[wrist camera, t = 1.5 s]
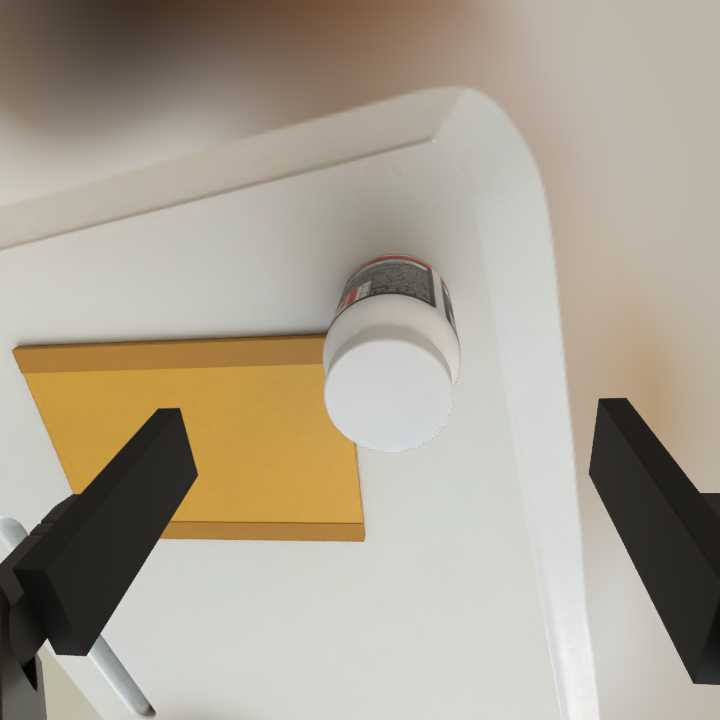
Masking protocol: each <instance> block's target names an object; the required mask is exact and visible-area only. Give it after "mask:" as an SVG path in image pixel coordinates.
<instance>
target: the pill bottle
mask: <svg viewBox="0 0 720 720" xmlns="http://www.w3.org/2000/svg"><path fill="white" fill-rule="evenodd" d="M460 361H461V353H460V345H459V340H458V335H457V330H456V325H455V320H454V315H453V310H452V305H451V300H450V295H449V292H448V289H447V287H446V285H445V283H444V281H443V280H442V278H441V277H440V275H439V274H438V273H437V272H436V271H435V270H434V269H433V268H432V267H431V266H429V265H428V264H426V263H425V262H423V261H421V260H419V259H417V258H414V257H411V256H406V255H385V256H381V257H378V258H375V259H373V260H371V261H369V262H367V263H366V264H364V265H363V266H361V267H360V268H359V269H358V270H357V271H356V272H355V273H354V274H353V276H352V277H351V278H350V280H349V281H348V283H347V285H346V287H345V289H344V292H343V295H342V297H341V300H340V302H339V305H338V307H337V310H336V313H335V315H334V318H333V320H332V323H331V326H330V328H329V331H328V333H327V336H326V339H325V343H324V348H323V367H324V372H325V376H326V380H325V384H324V402H325V407H326V410H327V412H328V415H329V417H330V419H331V420H332V422H333V423H334V425H335V426H336V428H337V429H338V430H339V431H340V432H341V433H342V434H343V435H344V436H345V437H347V438H348V439H350V440H351V441H353V442H355V443H356V444H358V445H360V446H363V447H365V448H368V449H372V450H376V451H381V452H399V451H406V450H410V449H413V448H416V447H418V446H420V445H422V444H424V443H426V442H428V441H429V440H430V439H432V438H433V437H434V436H436V435H437V434H438V433H439V431H440V430H441V429H442V428H443V427H444V425H445V423H446V422H447V420H448V418H449V415H450V413H451V409H452V405H453V388H454V386H455V384H456V382H457V379H458V375H459V371H460Z"/></svg>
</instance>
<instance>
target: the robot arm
mask: <svg viewBox="0 0 720 720" xmlns="http://www.w3.org/2000/svg"><path fill="white" fill-rule="evenodd" d="M589 475H590V477H591V479H592V481H593V483H594V485H595V487H596V489H597V491H598V493H599V495H600V497H601V499H602V501H603V503H604V505H605V507H606V509H607V511H608V513H609V515H610V517H611V519H612V521H613V523H614V525H615V527H616V529H617V531H618V533H619V535H620V537H621V539H622V541H623V543H624V545H625V547H626V549H627V551H628V554H629V555H630V557H631V560H632V562H633V563H634V566H635V568H636V570H637V571H638V574H639V576H640V577H641V579H642V581H643V584H644V586H645V587H646V590H647V592H648V594H649V596H650V598H651V600H652V601H653V604H654V606H655V608H656V610H657V612H658V614H659V616H660V618H661V620H662V622H663V624H664V626H665V628H666V630H667V632H668V634H669V636H670V637H671V640H672V641H673V644H674V646H675V648H676V650H677V652H678V654H679V656H680V658H681V660H682V662H683V664H684V666H685V668H686V670H687V672H688V673H689V676H690V677H691V679H692V682H693V684H711V685H720V493H700V492H699V491H698V490H697V489H696V487H695V486H694V485H693V483H692V482H691V481H690V480H689V478H688V477H687V476H686V474H685V473H684V472H683V470H682V469H681V468H680V467H679V465H678V464H677V463H676V462H675V460H674V459H673V458H672V456H671V455H670V454H669V452H668V451H667V450H666V449H665V447H664V446H663V445H662V444H661V442H660V441H659V440H658V438H657V437H656V436H655V434H654V433H653V432H652V430H651V429H650V428H649V427H648V425H647V424H646V423H645V422H644V420H643V419H642V418H641V416H640V415H639V414H638V412H637V411H636V410H635V409H634V407H633V406H632V405H631V403H630V402H629V401H628V400H627V398H607V399H606V398H605V399H604V398H603V399H599V402H598V409H597V417H596V425H595V432H594V439H593V447H592V454H591V461H590V469H589ZM197 477H198V472H197V468H196V465H195V461H194V457H193V454H192V450H191V446H190V443H189V439H188V435H187V432H186V428H185V424H184V420H183V417H182V413H181V409H180V408H158V409H157V410H156V411H155V412H154V414H153V415H152V416H151V417H150V418H149V419H148V420H147V421H146V422H145V423H144V425H143V426H142V427H141V428H140V429H139V430H138V431H137V432H136V433H135V434H134V436H133V437H132V438H131V439H130V440H129V441H128V442H127V443H126V444H125V445H124V447H123V448H122V449H121V450H120V451H119V452H118V453H117V454H116V455H115V456H114V458H113V459H112V460H111V461H110V462H109V463H108V464H107V465H106V466H105V467H104V469H103V470H102V471H101V472H100V473H99V474H98V475H97V476H96V477H95V478H94V479H93V481H92V482H91V483H90V484H89V485H88V486H87V487H86V488H85V489H84V490H83V492H82V493H81V494H73V495H71V496H70V497H68V498H67V499H65V500H64V501H62V502H61V503H59V504H58V505H56V506H55V507H54V508H53V509H52V510H51V511H50V512H49V513H48V514H47V515H46V516H45V517H44V519H43V520H42V521H41V524H38V525H37V526H36V527H35V528H34V529H33V530H32V531H31V532H30V535H29V536H26V538H25V539H24V540H23V541H22V542H21V543H20V544H19V545H18V546H17V547H16V548H15V549H14V550H13V551H12V552H11V553H10V554H9V555H8V557H7V558H6V559H5V560H4V561H3V562H2V563H1V564H0V720H47V715H46V705H45V694H44V683H43V672H42V662H41V660H40V658H39V656H38V654H37V652H38V650H39V648H40V647H41V646H42V645H43V643H44V642H45V640H46V639H47V638H48V640H49V642H50V644H51V646H52V648H53V649H54V651H55V653H56V655H73V656H87V654H88V653H89V651H90V649H91V648H92V646H93V645H94V643H95V641H96V640H97V638H98V636H99V635H100V633H101V632H102V630H103V628H104V627H105V625H106V624H107V622H108V620H109V619H110V617H111V616H112V614H113V612H114V611H115V609H116V607H117V606H118V604H119V603H120V601H121V599H122V598H123V596H124V595H125V593H126V591H127V590H128V588H129V586H130V585H131V583H132V582H133V580H134V578H135V577H136V575H137V574H138V572H139V570H140V569H141V567H142V566H143V564H144V562H145V561H146V559H147V557H148V556H149V554H150V553H151V551H152V549H153V548H154V546H155V545H156V543H157V541H158V540H159V538H160V537H161V535H162V533H163V532H164V530H165V528H166V527H167V525H168V524H169V522H170V520H171V519H172V517H173V516H174V514H175V512H176V511H177V509H178V507H179V506H180V504H181V503H182V501H183V499H184V498H185V496H186V495H187V493H188V491H189V490H190V488H191V487H192V485H193V483H194V482H195V480H196V478H197Z"/></svg>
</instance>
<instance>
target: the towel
mask: <svg viewBox="0 0 720 720" xmlns="http://www.w3.org/2000/svg"><path fill="white" fill-rule="evenodd" d="M326 336H327V334H316V335H291V336H265V337H240V338H215V339H189V340H164V341H138V342H113V343H88V344H62V345H37V346H18V347H16V348H15V349H13V350H12V352H13V354H14V357H15V359H16V362H17V364H18V366H19V369H20V371H21V373H23V374H24V377H25V379H26V382H27V384H28V386H29V389H30V391H31V394H32V396H33V398H34V401H35V403H36V405H37V408H38V410H39V413H40V415H41V417H42V420H43V422H44V424H45V427H46V429H47V432H48V434H49V436H50V439H51V441H52V443H53V446H54V448H55V451H56V453H57V455H58V458H59V460H60V463H61V465H62V467H63V470H64V472H65V474H66V477H67V479H68V482H69V484H70V486H71V489H72V491H73V493H74V494H81V493H82V492H83V490H84V489H85V488H86V487H87V486H88V485H89V484H90V483H91V482H92V481H93V479H94V478H95V477H96V476H97V475H98V474H99V473H100V472H101V471H102V470H103V469H104V467H105V466H106V465H107V464H108V463H109V462H110V461H111V460H112V459H113V458H114V456H115V455H116V454H117V453H118V452H119V451H120V450H121V449H122V448H123V447H124V445H125V444H126V443H127V442H128V441H129V440H130V439H131V438H132V437H133V436H134V434H135V433H136V432H137V431H138V430H139V429H140V428H141V427H142V426H143V425H144V423H145V422H146V421H147V420H148V419H149V418H150V417H151V416H152V415H153V414H154V412H155V411H156V410H157V409H158V408H180V409H181V413H182V417H183V420H184V424H185V428H186V432H187V435H188V439H189V443H190V446H191V450H192V454H193V457H194V461H195V465H196V468H197V472H198V477H197V478H196V480H195V482H194V483H193V485H192V487H191V488H190V490H189V491H188V493H187V495H186V496H185V498H184V499H183V501H182V503H181V504H180V506H179V507H178V509H177V511H176V512H175V514H174V516H173V517H172V519H171V520H170V522H169V524H168V525H167V527H166V528H165V530H164V532H163V533H162V535H161V537H160V538H159V539H217V540H284V541H352V542H364V540H365V531H364V521H363V512H362V502H361V493H360V484H359V474H358V465H357V455H356V446H355V442H353V441H351V440H350V439H348V438H347V437H345V436H344V435H343V434H342V433H341V432H340V431H339V430H338V429H337V428H336V426H335V425H334V423H333V422H332V420H331V419H330V417H329V415H328V412H327V410H326V407H325V402H324V384H325V380H326V376H325V372H324V367H323V348H324V343H325V339H326Z"/></svg>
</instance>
